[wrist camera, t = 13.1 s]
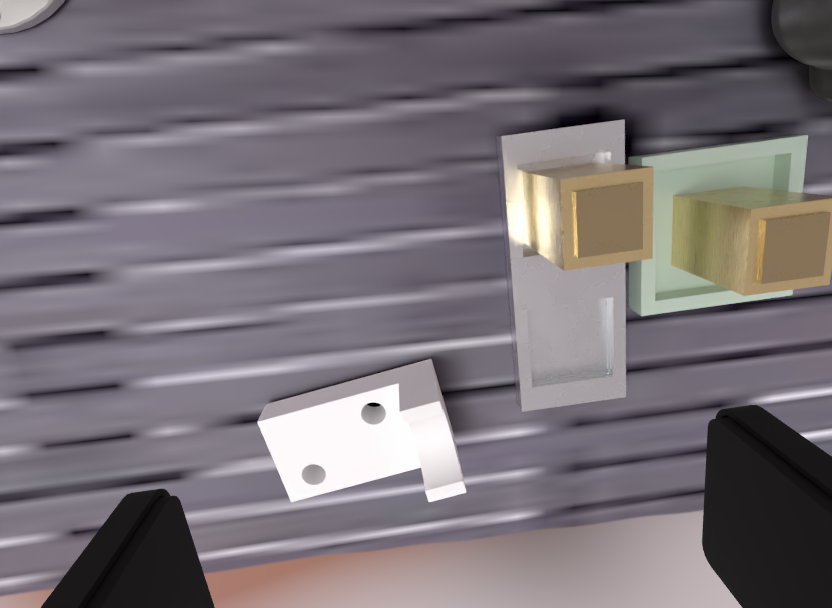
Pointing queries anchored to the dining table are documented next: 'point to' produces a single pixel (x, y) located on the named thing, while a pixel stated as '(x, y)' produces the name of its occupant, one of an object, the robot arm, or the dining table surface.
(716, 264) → the wooden crate cube
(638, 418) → the dining table surface
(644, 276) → the tray
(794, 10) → the bundt pan
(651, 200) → the cream square knob
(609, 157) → the white flat board
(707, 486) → the robot arm
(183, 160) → the dining table surface
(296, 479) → the bracket
